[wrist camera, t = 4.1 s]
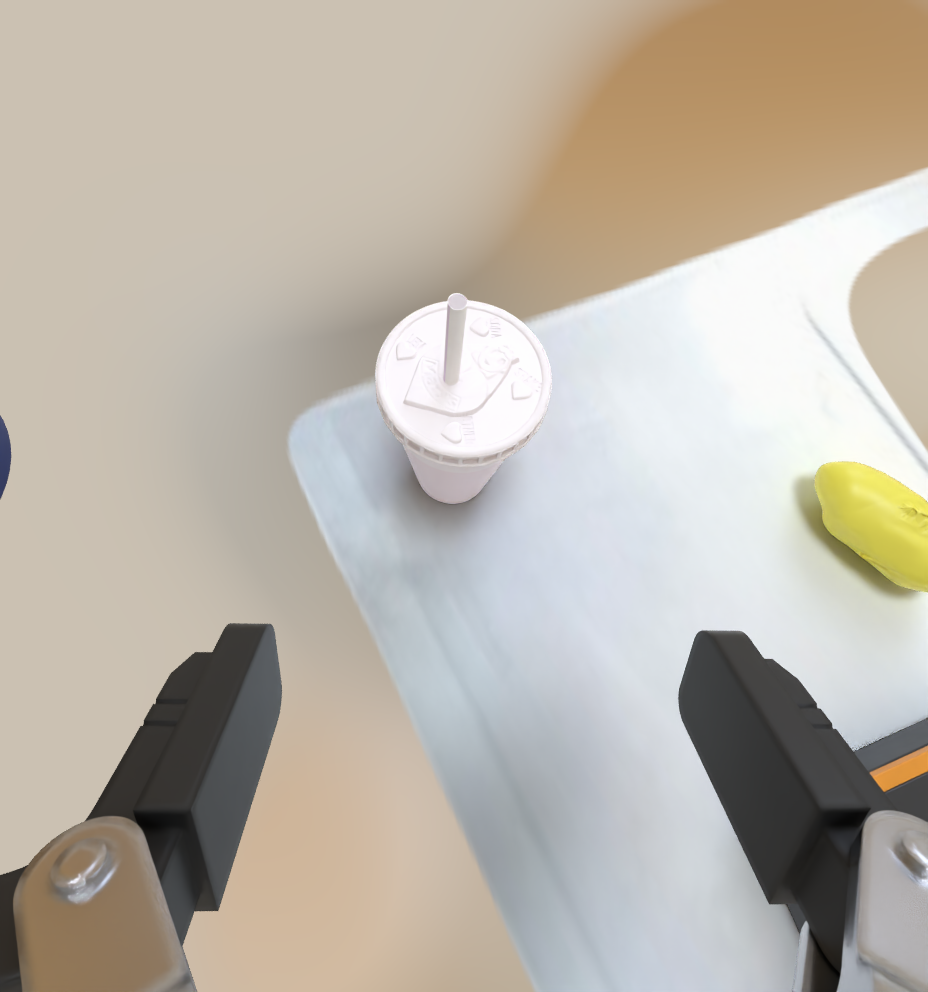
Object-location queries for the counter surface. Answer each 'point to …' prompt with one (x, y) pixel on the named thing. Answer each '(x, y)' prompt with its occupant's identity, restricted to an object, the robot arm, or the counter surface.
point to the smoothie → (461, 392)
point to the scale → (895, 776)
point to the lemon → (877, 520)
